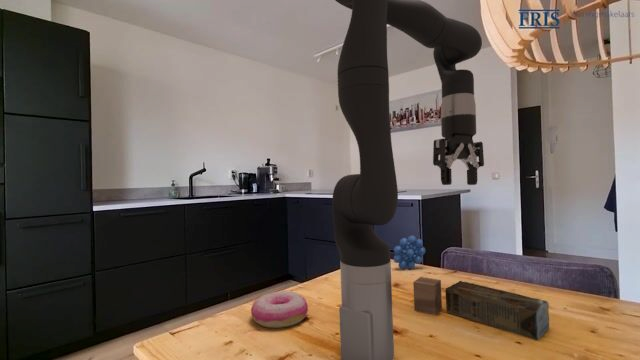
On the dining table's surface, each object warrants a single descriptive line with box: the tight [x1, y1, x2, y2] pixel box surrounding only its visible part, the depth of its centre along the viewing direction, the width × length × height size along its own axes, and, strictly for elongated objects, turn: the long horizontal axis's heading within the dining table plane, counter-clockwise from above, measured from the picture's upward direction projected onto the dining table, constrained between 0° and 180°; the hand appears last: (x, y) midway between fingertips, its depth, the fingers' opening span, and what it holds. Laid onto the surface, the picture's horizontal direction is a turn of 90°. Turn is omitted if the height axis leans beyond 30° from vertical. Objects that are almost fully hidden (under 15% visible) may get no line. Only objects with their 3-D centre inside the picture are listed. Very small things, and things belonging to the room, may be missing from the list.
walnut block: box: [412, 276, 443, 316], centre depth 77 cm, size 5×5×7 cm
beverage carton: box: [444, 280, 550, 341], centre depth 70 cm, size 8×19×7 cm, turn 40°
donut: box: [250, 290, 309, 329], centre depth 75 cm, size 14×13×5 cm
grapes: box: [393, 235, 426, 270], centre depth 113 cm, size 12×7×12 cm, turn 93°
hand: (459, 184), depth 74 cm, fingers open, 8 cm apart
